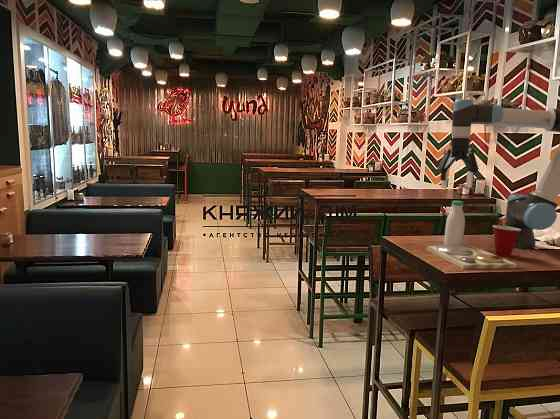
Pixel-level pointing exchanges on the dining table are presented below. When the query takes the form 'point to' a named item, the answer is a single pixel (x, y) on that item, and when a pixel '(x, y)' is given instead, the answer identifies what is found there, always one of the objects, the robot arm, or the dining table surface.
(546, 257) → the dining table surface
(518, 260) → the dining table surface
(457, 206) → the milk bottle
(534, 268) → the dining table surface
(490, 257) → the flange dn80
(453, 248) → the flange large
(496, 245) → the plastic cup
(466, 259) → the flange small
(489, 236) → the dining table surface
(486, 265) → the fitting board
